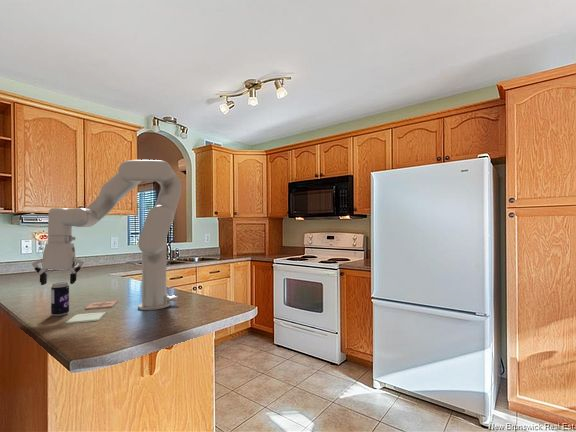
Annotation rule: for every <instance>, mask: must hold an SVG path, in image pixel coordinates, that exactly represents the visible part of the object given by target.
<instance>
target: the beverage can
mask: <svg viewBox="0 0 576 432" xmlns="http://www.w3.org/2000/svg"><path fill="white" fill-rule="evenodd" d="M50 301H51V303H50V314H51V315H53V316H54V317H59V316H65V315H67V314H68V313H69V312H70V285H69V282H65V281H64V282H63V281H62V282H56V283H55V282H54V283H52V286H51V287H50Z"/></svg>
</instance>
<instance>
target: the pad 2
mask: <svg viewBox="0 0 576 432" xmlns="http://www.w3.org/2000/svg"><path fill="white" fill-rule="evenodd" d="M118 301H119V300H110V301H96V302H91V303H90V304H88V305H87V306H86V307H85V308H84V310H96V309H98V310H99V309H110V308H111V309H112V308H113V307H114V306H115V305H116V304H117V303H118Z"/></svg>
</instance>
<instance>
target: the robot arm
mask: <svg viewBox="0 0 576 432" xmlns="http://www.w3.org/2000/svg"><path fill="white" fill-rule="evenodd" d="M117 170H118V171H117V173H116V174H114V175H113V176H112V177H111V178H110V179H109V180H107V182H105V183H103V185H102V186H101V187H100V191H99V193H98V196H97V197H96V198H95V199H94V200H93V201H92V202H91V203H90V204H89V205H87V206H86V207H85V208H83V207H77V208H76V207H74V208H66V207H65V208H64V207H63V208H62V207H54V208H53V207H52V208H50V209H49V210H48V218H47V219H48V220H47V221H48V223H47V224H48V225H47V243H45V245H44V249H43V255H42V258H41V259H38V260H35V261H34V262H32V263H31V265H32V267H33V269H34V271H35V272H37V274H38V275H39V283H40V286H44V285H46V284H47V283H48V280H47V279H48V278H47V277H48V274H47V272H48V271H49V270H69V272H70V274H69V275H70V277H69V284H70V285H73V284H75V282H76V281H77V273H78V272H79V271H80V270H81V269H82V268H83V266H84V265H85V263H86V262H85V261H84V260H83V259H82V260H81V259H80V258H77V257H76V248H75V244H74V242H73V241H76V236H73V234H72V231H73V229H72V228H73V227H75V228H76V227H77V228H90V227H93V226H95V225H96V224H97V223H98V222H100V221H101V220H102V219H103V218H104V217H105V216H107V214H109V213H110V212H111V211H112V210H113V209H114V207H116V205H117V204H118V203H119V202H120V201H121V200H122V199H123V198H124V197H126V196H127V195H128V194H129V193H130V192H131V191H132V190H134V189H135V188H136V187H137V186H138V185H139V184H140V183H142V182H156V183H157V184H159V187H160V190H159V193H158V196H157V200H156V201H155V205H154V206H152V207H151V208H150V209H149V211H148V212H147V214H146V217H145V220H144V222H143V226H142V229H141V232H140V234H139V237H138V241H137V242H138V244H137V245H138V248H139V250H140V252H141V253H142V254H141V303H139V304H138V305H137V309H138V310H142V311H155V310H160V309H161V310H162V309H165V308H168V307H170V306H171V302H178V299H179V298H178V297H179V296H178V295H176V296H175V295H172V296H171V295H169V293H168V292H167V252H168V251H167V250H168V249H167V247H168V246H167V237H168V235H169V231H170V228H171V226H172V224H173V222H174V219H175V215H176V211H177V207H178V205H179V202H180V197H181V195H182V182H181V180H180V177H179V176H178V175H177V173H176V172H175V171H174V170H173V168H172V166H171V164H169V163H168V161H165V160H159V159H158V160H157V159H155V160H153V159H150V160H149V159H142V160H141V159H129V160H125V161H122V162H121V163H120V164H119V166H118V169H117ZM76 263H77V264H78V266H77V267H75V266H76ZM40 264H41V267H42V268H41V267H40V266H39V265H40Z"/></svg>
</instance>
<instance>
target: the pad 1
mask: <svg viewBox="0 0 576 432" xmlns="http://www.w3.org/2000/svg"><path fill="white" fill-rule="evenodd" d="M106 314H107V313H106V311H104V312H91V313H89V312H88V313H78V314H77V313H76V314H75V315H73V317H70V319H69V320H67V321H66V323H65V324H78V323H87V322H88V323H89V322H90V323H91V322H98V321H100V320H101V319H102V318H103V317H104V316H105V315H106Z"/></svg>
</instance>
